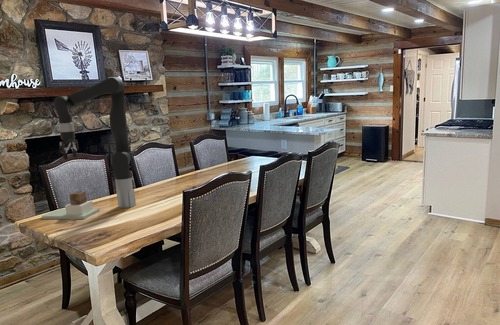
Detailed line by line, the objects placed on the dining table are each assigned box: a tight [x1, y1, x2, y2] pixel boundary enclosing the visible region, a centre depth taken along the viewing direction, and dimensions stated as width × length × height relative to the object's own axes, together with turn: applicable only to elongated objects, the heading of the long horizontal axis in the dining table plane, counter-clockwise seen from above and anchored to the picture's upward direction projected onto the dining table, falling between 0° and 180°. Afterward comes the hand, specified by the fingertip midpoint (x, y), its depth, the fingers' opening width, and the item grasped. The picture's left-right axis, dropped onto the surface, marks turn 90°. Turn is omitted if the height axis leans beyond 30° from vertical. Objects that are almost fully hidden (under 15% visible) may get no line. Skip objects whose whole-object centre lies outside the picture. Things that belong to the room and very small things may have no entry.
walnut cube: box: [69, 191, 88, 205], centre depth 212 cm, size 6×6×6 cm
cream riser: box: [64, 200, 94, 215], centre depth 213 cm, size 10×10×5 cm
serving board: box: [41, 208, 100, 220], centre depth 214 cm, size 26×14×2 cm, turn 80°
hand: (70, 158), depth 224 cm, fingers open, 8 cm apart
